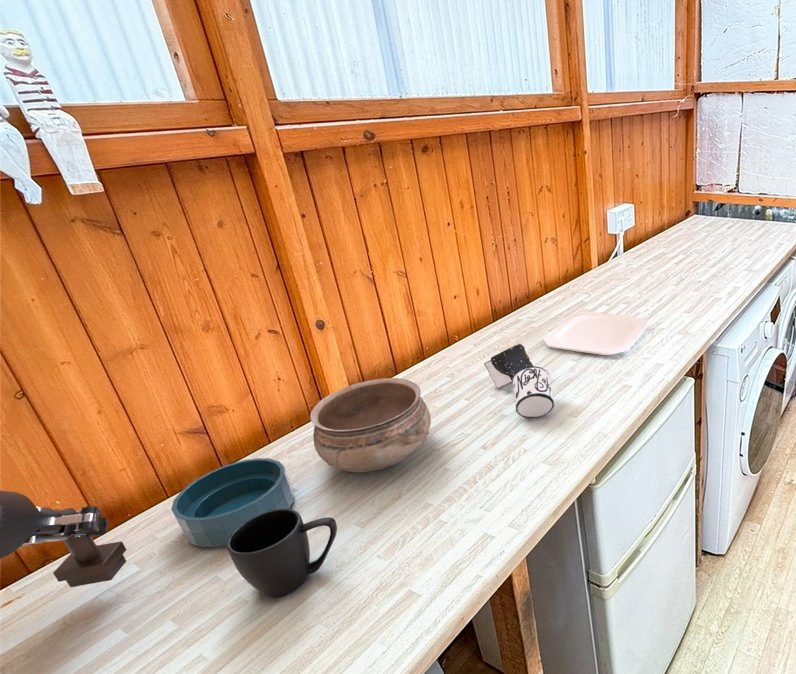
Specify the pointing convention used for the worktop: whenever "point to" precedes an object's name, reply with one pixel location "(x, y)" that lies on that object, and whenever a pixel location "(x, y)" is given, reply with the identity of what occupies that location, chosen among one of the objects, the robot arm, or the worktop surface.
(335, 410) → the cooking pot
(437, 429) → the worktop surface
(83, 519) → the robot arm
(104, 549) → the brown stamp
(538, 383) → the black and white cylinder
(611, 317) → the plate
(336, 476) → the worktop surface
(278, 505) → the bowl
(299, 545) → the mug
